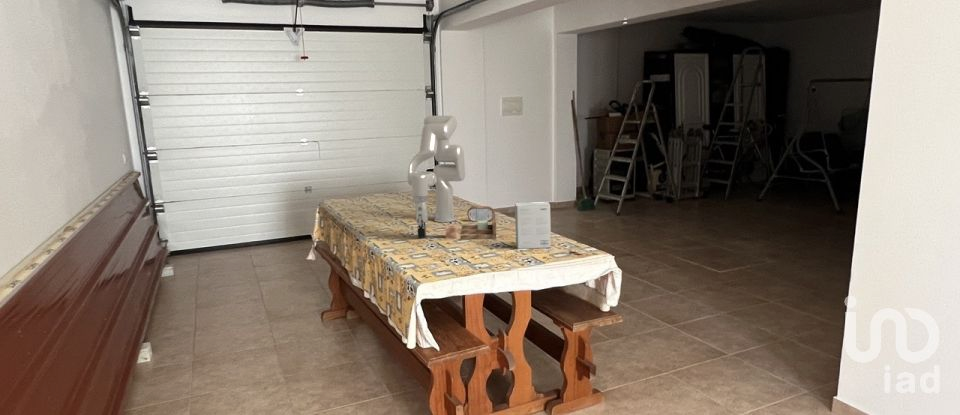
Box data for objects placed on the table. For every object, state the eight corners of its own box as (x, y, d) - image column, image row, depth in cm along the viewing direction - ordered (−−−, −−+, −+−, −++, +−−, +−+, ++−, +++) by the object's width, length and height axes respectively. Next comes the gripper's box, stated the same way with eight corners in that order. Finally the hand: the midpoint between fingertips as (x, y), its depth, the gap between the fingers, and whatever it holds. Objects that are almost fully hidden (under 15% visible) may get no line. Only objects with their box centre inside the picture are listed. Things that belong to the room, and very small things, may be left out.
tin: (494, 220, 326) (494, 205, 324) (494, 221, 322) (494, 206, 321) (467, 220, 327) (467, 206, 325) (467, 222, 324) (466, 207, 322)
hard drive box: (548, 243, 273) (548, 201, 269) (551, 248, 265) (551, 204, 261) (515, 244, 272) (514, 202, 268) (516, 249, 265) (516, 205, 261)
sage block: (477, 232, 299) (477, 222, 298) (478, 230, 304) (477, 220, 303) (487, 232, 299) (487, 222, 298) (487, 230, 304) (487, 220, 303)
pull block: (417, 238, 288) (416, 226, 287) (418, 236, 293) (418, 224, 292) (456, 238, 288) (455, 226, 287) (456, 235, 293) (456, 224, 292)
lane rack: (460, 239, 285) (459, 223, 283) (461, 228, 307) (461, 214, 306) (496, 238, 284) (495, 222, 283) (495, 228, 307) (494, 213, 305)
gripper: (426, 202, 279) (428, 239, 282) (429, 195, 295) (431, 231, 299) (410, 202, 279) (412, 239, 282) (414, 196, 295) (416, 231, 299)
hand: (422, 234), depth 290 cm, fingers open, 5 cm apart
